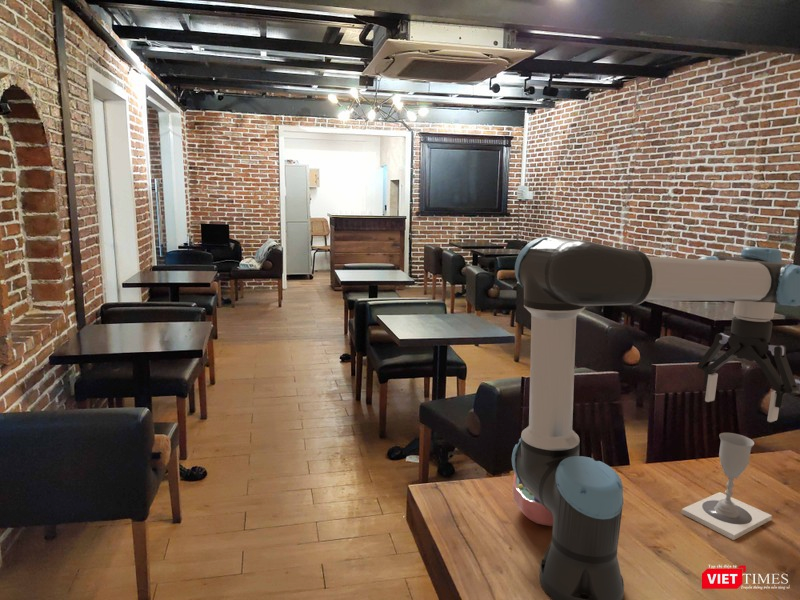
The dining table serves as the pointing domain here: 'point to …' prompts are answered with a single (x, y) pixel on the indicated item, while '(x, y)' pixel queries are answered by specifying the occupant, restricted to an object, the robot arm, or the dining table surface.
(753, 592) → the dining table surface
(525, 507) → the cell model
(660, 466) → the dining table surface
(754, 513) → the serving tile
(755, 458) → the dining table surface
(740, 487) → the dining table surface
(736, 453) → the chalice
